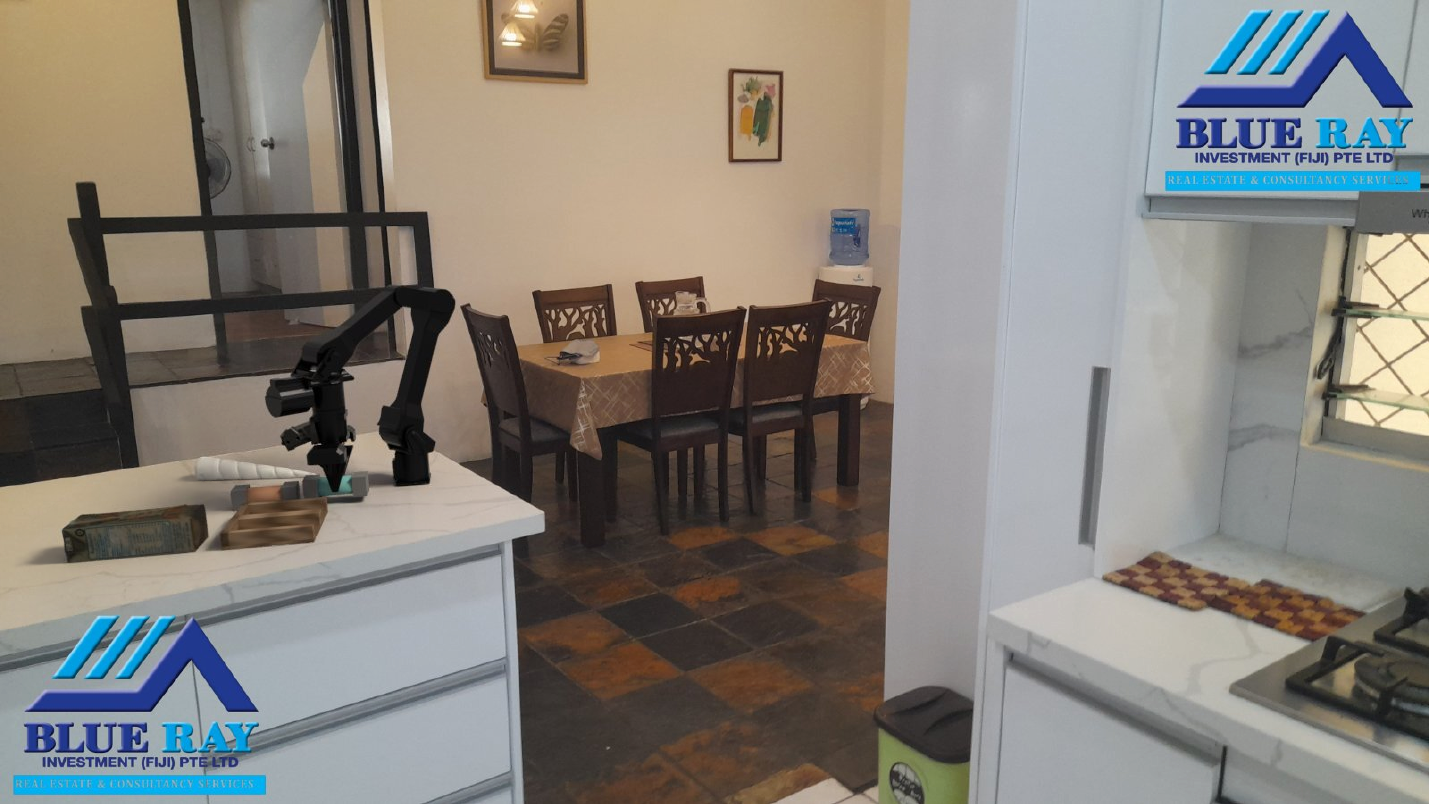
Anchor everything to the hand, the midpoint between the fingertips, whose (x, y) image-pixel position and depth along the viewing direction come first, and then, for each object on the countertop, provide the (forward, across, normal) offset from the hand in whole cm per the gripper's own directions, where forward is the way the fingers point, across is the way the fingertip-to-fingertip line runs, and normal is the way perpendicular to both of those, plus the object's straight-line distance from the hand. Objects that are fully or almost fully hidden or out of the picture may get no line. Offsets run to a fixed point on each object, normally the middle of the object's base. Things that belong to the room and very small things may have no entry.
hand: (336, 489), depth 179 cm
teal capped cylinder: (+1, 0, 0) cm, 1 cm away
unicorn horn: (+3, -21, -19) cm, 28 cm away
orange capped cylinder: (+2, -1, -12) cm, 13 cm away
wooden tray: (+2, +14, -8) cm, 16 cm away
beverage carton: (+3, +18, -28) cm, 33 cm away
